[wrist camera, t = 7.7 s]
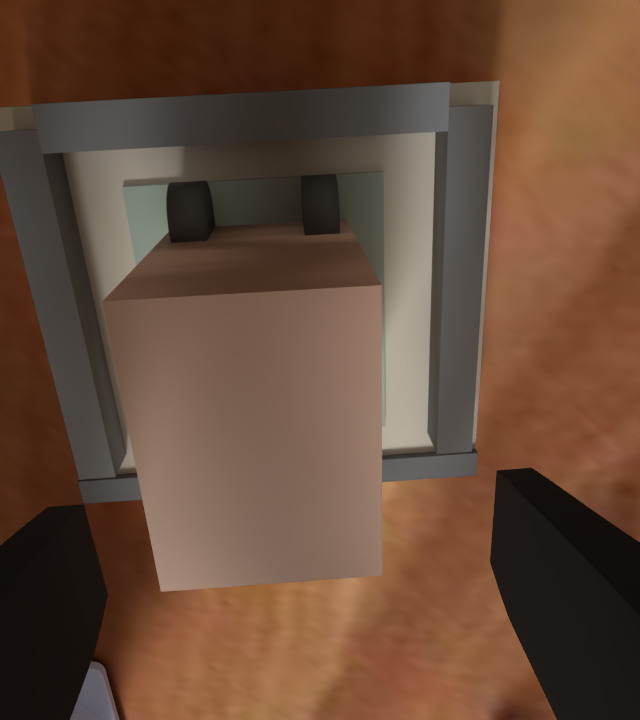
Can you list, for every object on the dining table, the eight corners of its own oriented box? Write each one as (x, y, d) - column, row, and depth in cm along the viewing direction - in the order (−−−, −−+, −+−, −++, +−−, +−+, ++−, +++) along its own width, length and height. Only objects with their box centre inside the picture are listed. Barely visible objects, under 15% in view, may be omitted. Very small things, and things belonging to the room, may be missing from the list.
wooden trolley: (206, 469, 17) (169, 636, 12) (164, 179, 14) (86, 223, 9) (352, 460, 18) (382, 619, 12) (344, 169, 14) (381, 207, 9)
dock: (108, 454, 20) (72, 524, 17) (29, 108, 16) (-41, 108, 12) (452, 430, 20) (485, 493, 17) (469, 84, 16) (518, 78, 13)
